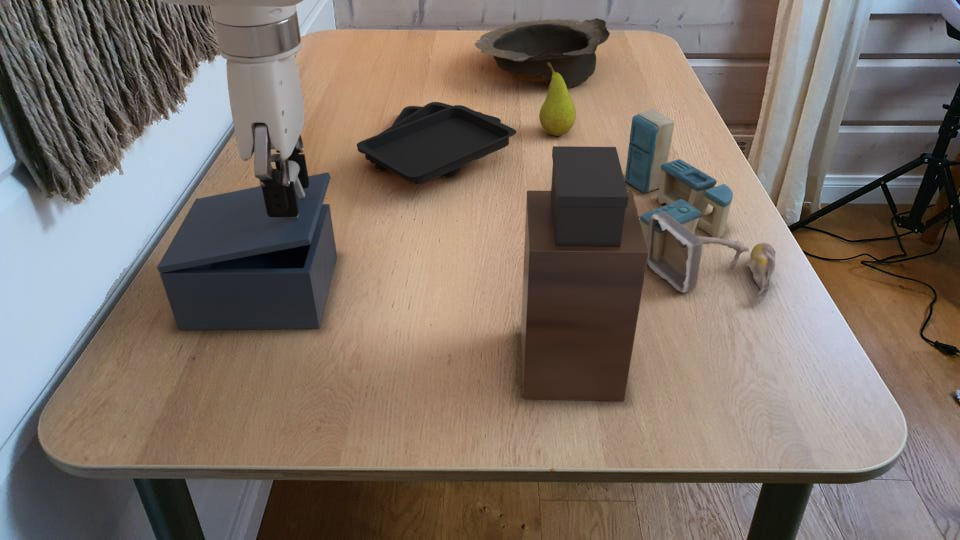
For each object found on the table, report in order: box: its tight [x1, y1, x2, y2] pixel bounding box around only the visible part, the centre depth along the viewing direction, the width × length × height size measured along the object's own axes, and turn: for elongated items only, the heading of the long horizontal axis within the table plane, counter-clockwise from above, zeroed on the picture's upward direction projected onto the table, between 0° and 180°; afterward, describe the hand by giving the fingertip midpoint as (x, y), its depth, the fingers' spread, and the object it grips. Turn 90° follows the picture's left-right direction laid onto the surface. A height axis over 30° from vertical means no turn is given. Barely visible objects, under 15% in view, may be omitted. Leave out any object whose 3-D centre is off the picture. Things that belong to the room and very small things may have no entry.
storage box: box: [159, 203, 338, 331], centre depth 84 cm, size 16×14×8 cm
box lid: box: [156, 161, 332, 274], centre depth 79 cm, size 16×14×5 cm
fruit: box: [538, 62, 577, 137], centre depth 116 cm, size 6×6×12 cm
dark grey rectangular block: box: [550, 145, 629, 247], centre depth 64 cm, size 9×6×5 cm, turn 178°
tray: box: [356, 101, 517, 186], centre depth 111 cm, size 30×23×5 cm
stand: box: [520, 189, 648, 402], centre depth 71 cm, size 10×10×18 cm
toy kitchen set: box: [624, 108, 734, 261], centre depth 96 cm, size 18×14×11 cm
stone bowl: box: [474, 17, 611, 90], centre depth 137 cm, size 25×25×9 cm
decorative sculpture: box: [646, 211, 776, 305], centre depth 85 cm, size 16×10×7 cm, turn 92°
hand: (289, 199), depth 79 cm, fingers closed on box lid, 5 cm apart
